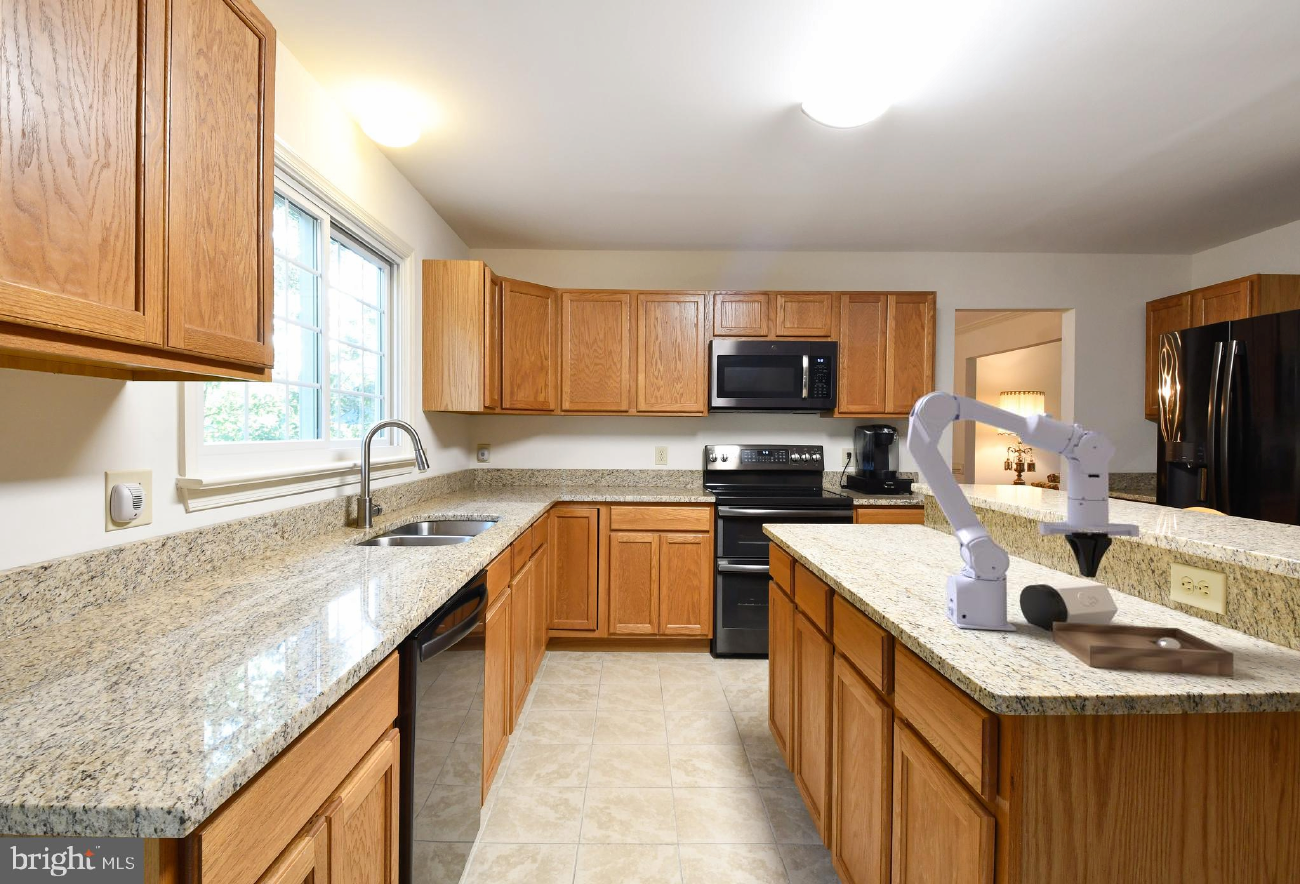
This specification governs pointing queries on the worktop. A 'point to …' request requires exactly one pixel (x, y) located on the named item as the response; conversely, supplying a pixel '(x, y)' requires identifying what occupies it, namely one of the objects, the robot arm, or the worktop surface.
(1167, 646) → the ball
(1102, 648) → the board
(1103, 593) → the jar
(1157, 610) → the worktop surface
